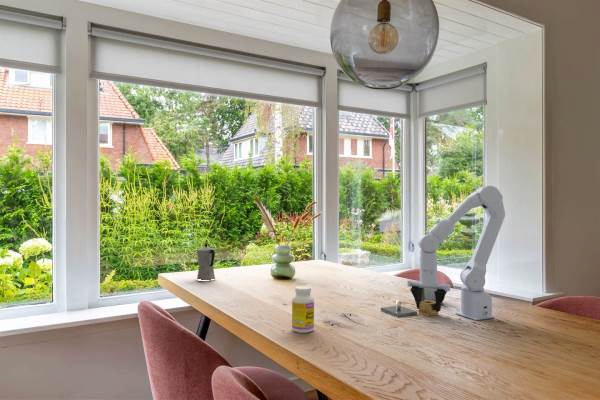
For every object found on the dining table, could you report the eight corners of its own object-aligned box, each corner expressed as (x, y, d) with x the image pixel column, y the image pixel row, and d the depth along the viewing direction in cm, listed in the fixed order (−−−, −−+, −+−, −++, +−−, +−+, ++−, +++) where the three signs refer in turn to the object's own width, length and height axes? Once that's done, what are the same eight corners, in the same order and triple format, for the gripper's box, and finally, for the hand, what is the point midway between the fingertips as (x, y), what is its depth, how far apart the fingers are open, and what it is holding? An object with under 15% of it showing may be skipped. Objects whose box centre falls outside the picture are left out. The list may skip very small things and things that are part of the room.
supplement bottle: (306, 334, 130) (306, 290, 130) (287, 331, 134) (287, 288, 134) (318, 329, 136) (318, 286, 136) (299, 326, 140) (299, 284, 140)
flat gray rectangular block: (417, 314, 153) (417, 302, 153) (398, 317, 150) (398, 305, 150) (399, 308, 162) (399, 297, 162) (380, 310, 159) (380, 299, 159)
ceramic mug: (446, 304, 167) (446, 284, 167) (425, 305, 166) (425, 284, 166) (433, 299, 178) (433, 279, 178) (414, 299, 176) (413, 280, 177)
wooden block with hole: (438, 314, 153) (438, 302, 153) (427, 316, 151) (427, 304, 151) (429, 311, 157) (429, 300, 157) (418, 313, 155) (418, 301, 155)
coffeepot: (191, 279, 223) (191, 242, 223) (208, 277, 228) (208, 241, 228) (204, 283, 210) (204, 245, 210) (223, 281, 216) (222, 244, 216)
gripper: (453, 270, 152) (453, 310, 152) (413, 266, 161) (413, 304, 161) (445, 273, 147) (445, 314, 147) (404, 269, 156) (404, 308, 156)
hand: (428, 309), depth 154 cm, fingers closed on wooden block with hole, 6 cm apart
